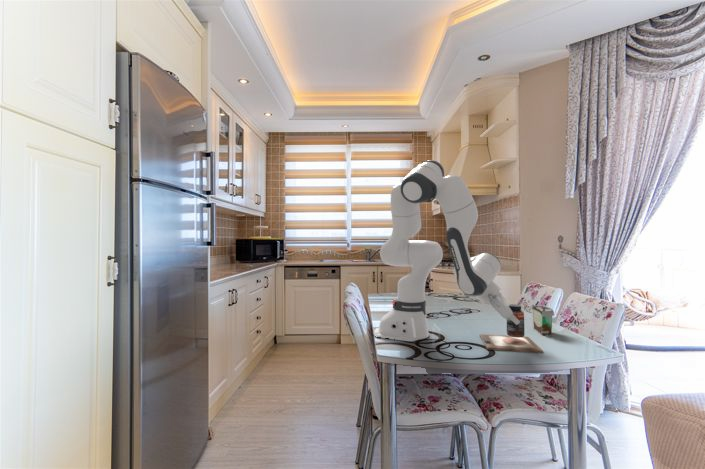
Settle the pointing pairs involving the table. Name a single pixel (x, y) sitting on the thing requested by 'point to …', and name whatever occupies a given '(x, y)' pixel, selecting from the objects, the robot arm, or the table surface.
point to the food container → (542, 319)
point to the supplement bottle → (512, 328)
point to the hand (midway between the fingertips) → (517, 320)
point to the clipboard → (510, 343)
